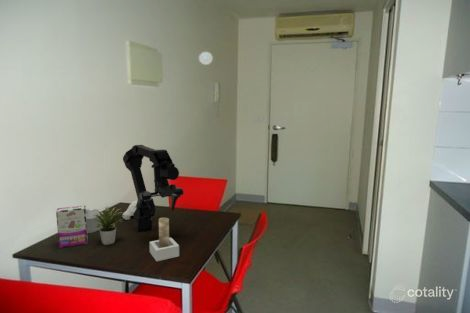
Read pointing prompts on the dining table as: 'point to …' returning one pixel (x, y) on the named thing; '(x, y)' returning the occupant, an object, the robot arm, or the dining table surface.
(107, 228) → the house plant
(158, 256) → the end cap
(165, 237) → the dowel
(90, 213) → the lumpy-topped squat cylinder
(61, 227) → the candy bar box
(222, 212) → the dining table surface
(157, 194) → the robot arm
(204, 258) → the dining table surface
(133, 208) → the penguin figurine
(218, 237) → the dining table surface
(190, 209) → the dining table surface
